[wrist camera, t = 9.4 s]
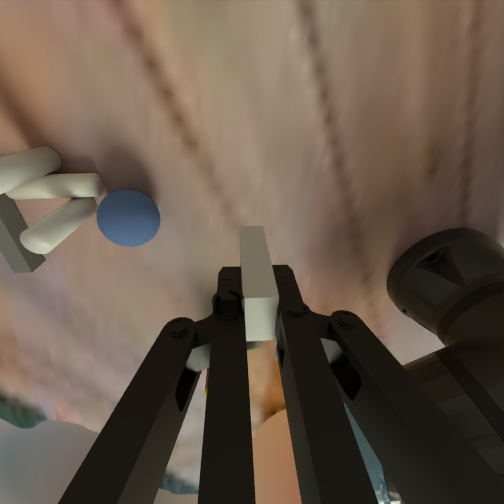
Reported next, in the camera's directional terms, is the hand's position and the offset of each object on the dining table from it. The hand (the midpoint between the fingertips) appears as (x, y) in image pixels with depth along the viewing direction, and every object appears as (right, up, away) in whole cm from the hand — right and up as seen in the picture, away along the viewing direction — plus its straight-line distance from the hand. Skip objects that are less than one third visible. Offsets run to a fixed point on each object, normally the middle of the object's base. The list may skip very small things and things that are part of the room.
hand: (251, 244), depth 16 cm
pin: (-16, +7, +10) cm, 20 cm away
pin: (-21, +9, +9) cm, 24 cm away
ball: (-13, +3, +10) cm, 17 cm away
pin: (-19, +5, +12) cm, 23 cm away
